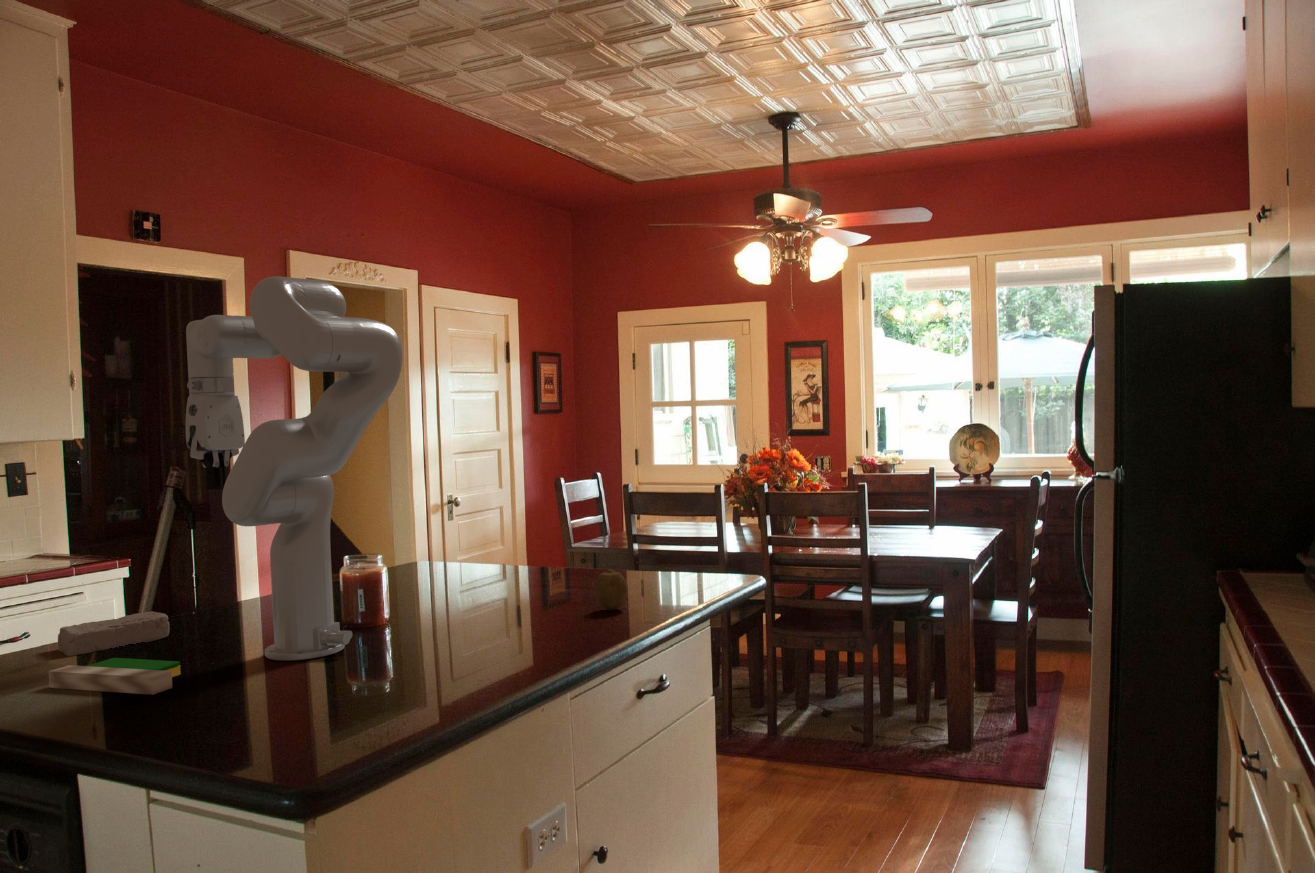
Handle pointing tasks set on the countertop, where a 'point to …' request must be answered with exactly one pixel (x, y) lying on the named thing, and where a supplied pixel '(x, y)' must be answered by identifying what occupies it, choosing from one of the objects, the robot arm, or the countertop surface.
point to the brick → (112, 633)
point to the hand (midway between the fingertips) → (217, 488)
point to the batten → (110, 679)
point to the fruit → (611, 590)
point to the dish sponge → (141, 664)
